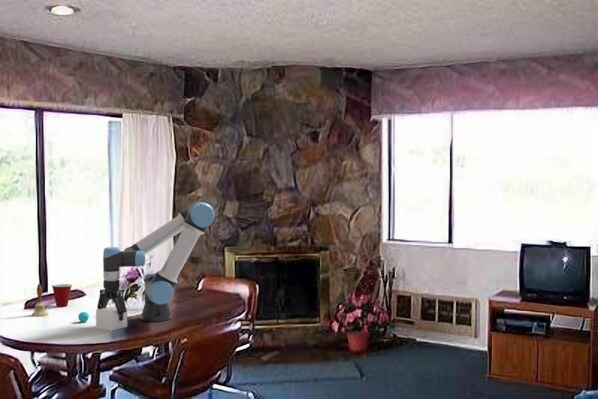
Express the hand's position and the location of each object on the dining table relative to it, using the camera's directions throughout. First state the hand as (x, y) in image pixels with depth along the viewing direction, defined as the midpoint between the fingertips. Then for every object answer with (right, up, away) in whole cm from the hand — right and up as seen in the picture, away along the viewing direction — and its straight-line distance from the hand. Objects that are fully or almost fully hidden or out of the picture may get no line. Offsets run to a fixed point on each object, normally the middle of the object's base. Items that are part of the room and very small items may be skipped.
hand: (111, 325), depth 334 cm
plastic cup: (-40, +2, +48) cm, 63 cm away
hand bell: (-44, +1, +26) cm, 51 cm away
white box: (0, -1, 0) cm, 1 cm away
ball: (-17, +2, +11) cm, 20 cm away
